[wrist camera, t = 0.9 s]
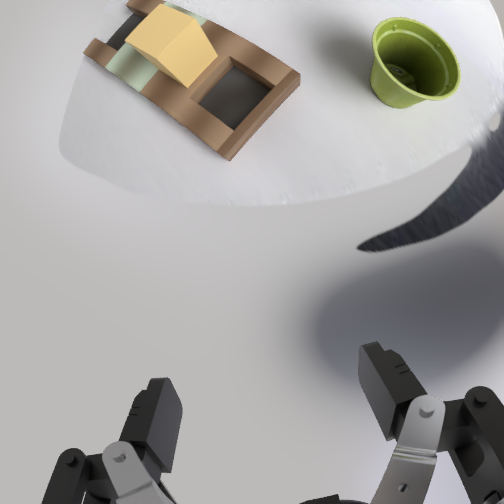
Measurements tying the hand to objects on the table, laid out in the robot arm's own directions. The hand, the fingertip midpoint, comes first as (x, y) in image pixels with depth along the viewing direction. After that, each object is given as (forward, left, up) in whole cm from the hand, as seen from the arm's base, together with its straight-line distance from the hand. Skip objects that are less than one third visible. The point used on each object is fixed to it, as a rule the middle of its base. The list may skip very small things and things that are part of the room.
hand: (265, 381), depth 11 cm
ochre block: (-25, -2, -18) cm, 31 cm away
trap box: (-28, -4, -21) cm, 36 cm away
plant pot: (-16, +19, -22) cm, 33 cm away
